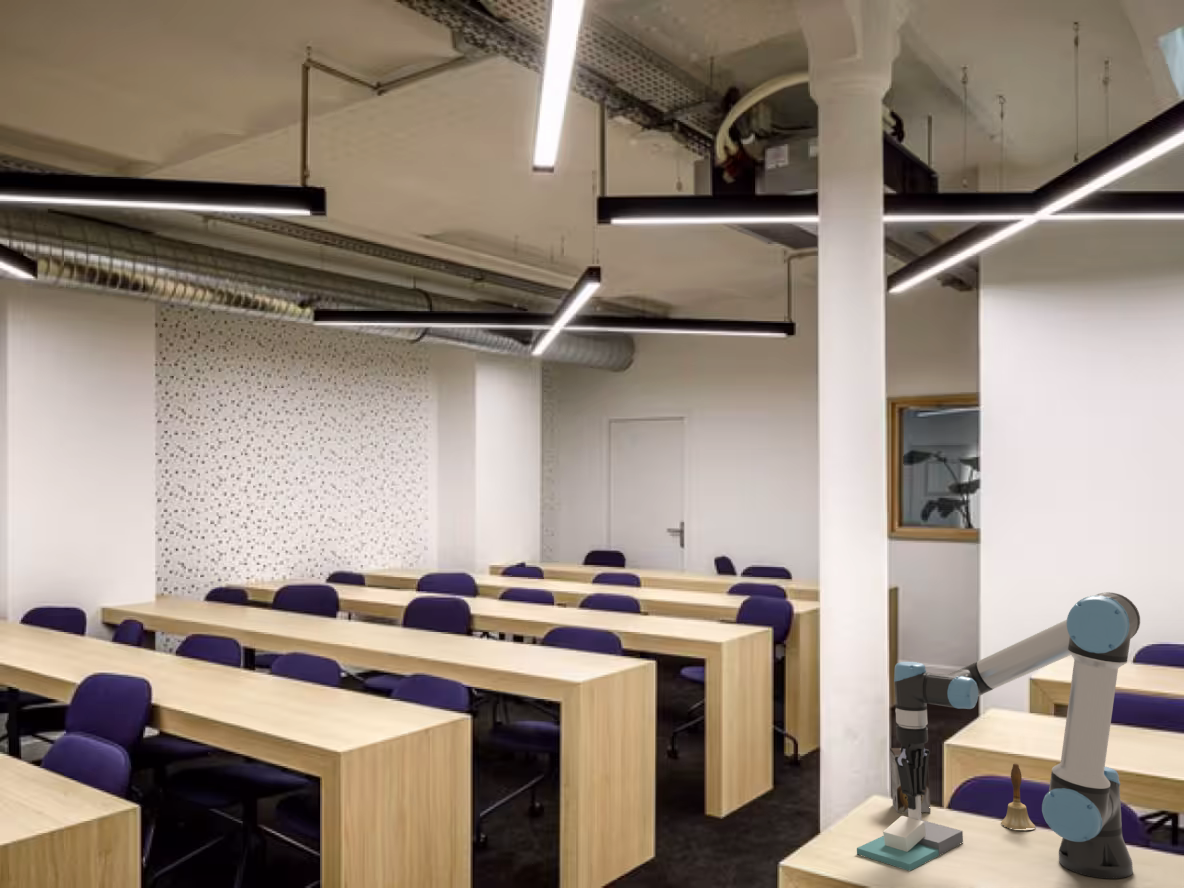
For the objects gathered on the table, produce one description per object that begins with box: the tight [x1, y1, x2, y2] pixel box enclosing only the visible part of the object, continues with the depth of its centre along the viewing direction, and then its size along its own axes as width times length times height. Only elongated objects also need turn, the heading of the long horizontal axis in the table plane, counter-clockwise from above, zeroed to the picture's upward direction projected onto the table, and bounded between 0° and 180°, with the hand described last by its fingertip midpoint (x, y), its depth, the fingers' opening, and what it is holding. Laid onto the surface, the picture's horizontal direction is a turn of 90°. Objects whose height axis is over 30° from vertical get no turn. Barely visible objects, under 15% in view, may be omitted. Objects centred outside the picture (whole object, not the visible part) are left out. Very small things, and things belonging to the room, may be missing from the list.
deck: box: [918, 819, 964, 856], centre depth 229 cm, size 14×12×3 cm
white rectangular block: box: [882, 815, 926, 852], centre depth 224 cm, size 6×9×4 cm, turn 131°
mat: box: [856, 835, 940, 872], centre depth 221 cm, size 14×13×2 cm
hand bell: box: [1000, 763, 1036, 829], centre depth 240 cm, size 8×8×16 cm
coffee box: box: [889, 747, 932, 814], centre depth 254 cm, size 9×6×16 cm
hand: (915, 821), depth 227 cm, fingers closed
